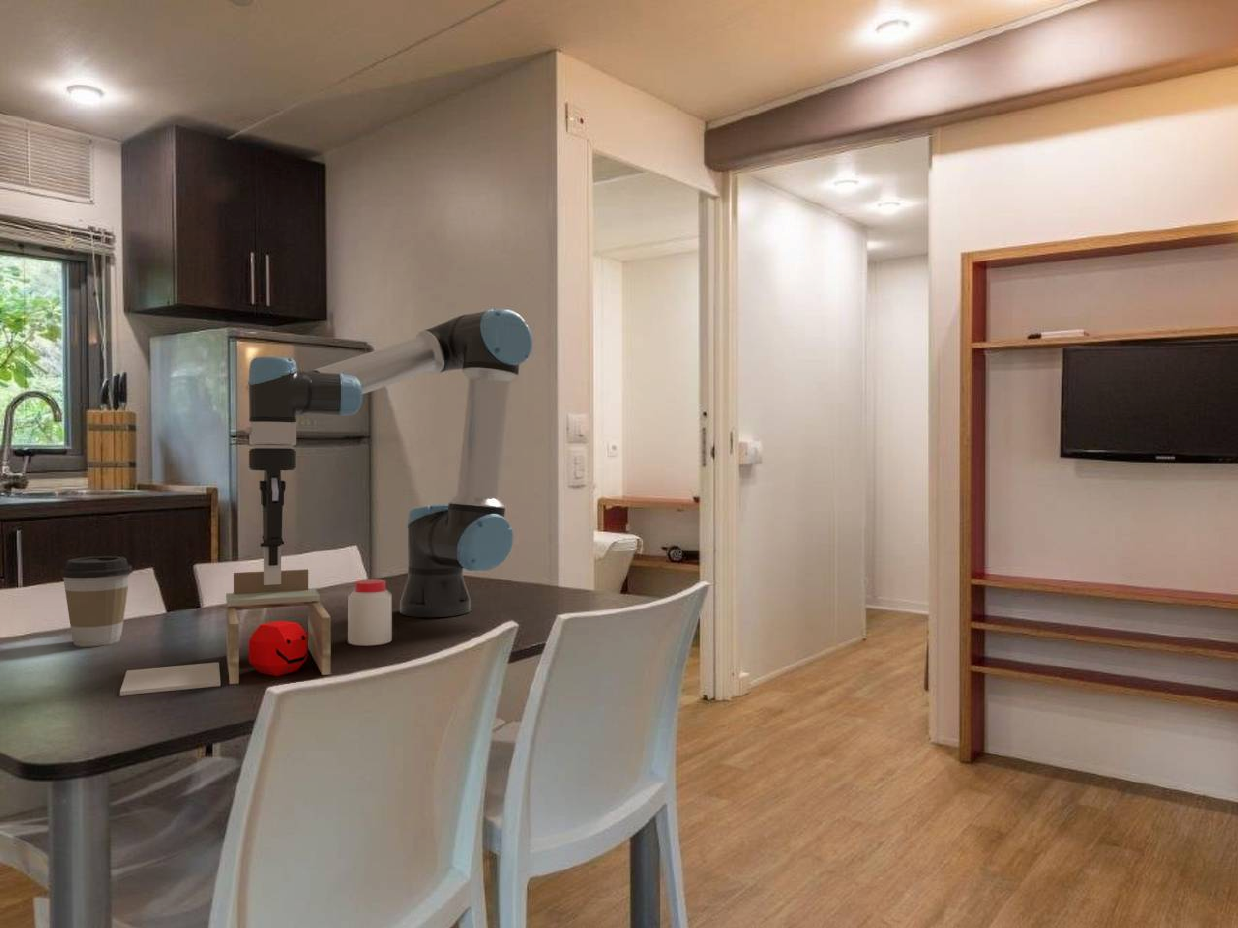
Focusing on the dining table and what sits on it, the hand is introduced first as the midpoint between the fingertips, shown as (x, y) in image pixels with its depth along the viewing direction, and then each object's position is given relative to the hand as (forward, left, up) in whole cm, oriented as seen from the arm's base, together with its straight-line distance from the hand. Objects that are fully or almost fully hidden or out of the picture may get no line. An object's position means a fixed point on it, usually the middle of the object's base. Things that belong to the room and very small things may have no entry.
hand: (272, 583), depth 151 cm
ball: (0, +14, -12) cm, 19 cm away
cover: (0, +2, -3) cm, 3 cm away
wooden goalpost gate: (0, +9, -12) cm, 15 cm away
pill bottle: (-17, -3, -12) cm, 21 cm away
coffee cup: (+28, -21, -12) cm, 37 cm away
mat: (+15, +13, -12) cm, 23 cm away
